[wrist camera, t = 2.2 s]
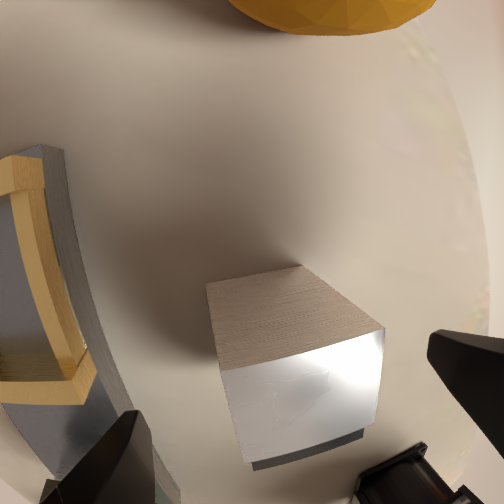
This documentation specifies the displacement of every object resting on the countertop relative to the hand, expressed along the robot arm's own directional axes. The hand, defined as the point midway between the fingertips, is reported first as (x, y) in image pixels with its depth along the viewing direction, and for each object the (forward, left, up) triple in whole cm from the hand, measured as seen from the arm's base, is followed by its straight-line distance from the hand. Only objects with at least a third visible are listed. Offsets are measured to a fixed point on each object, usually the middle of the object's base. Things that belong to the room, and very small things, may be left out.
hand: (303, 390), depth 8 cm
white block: (0, 0, -5) cm, 5 cm away
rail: (+10, +2, -5) cm, 11 cm away
